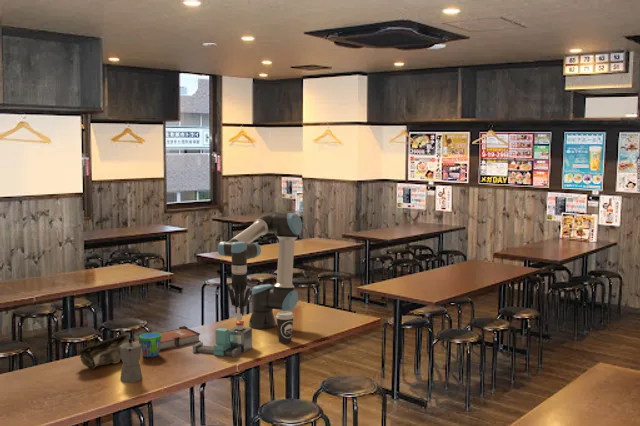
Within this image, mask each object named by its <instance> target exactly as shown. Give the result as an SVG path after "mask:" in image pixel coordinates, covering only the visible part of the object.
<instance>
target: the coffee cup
mask: <svg viewBox="0 0 640 426" xmlns="http://www.w3.org/2000/svg"><path fill="white" fill-rule="evenodd" d="M275 319H276V325H277V336H278V343H281V344H289V343H291V342H292V338H293V335H292V334H293V325H294V324H293V323H294V319H295V316H294V313H293V312H292V311H283V310H282V311H279V312H277V313H276V316H275Z"/></svg>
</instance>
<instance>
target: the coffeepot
mask: <svg viewBox="0 0 640 426" xmlns="http://www.w3.org/2000/svg"><path fill="white" fill-rule="evenodd" d="M127 339H128V338H127ZM128 341H129V343H124V344H122V345H120V346H119V348H120V353H121V359H120V360H121V361H122V365H121V371H120V381H121V382H122V383H128V384H129V383H135V382H139V381H141V380H142V379H143V373H142V368H141V364H140V359H141V353H142V348H141V347H142V345H141V344H140V343H139V342H134V339H133V338H129V339H128Z"/></svg>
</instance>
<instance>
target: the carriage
mask: <svg viewBox="0 0 640 426" xmlns="http://www.w3.org/2000/svg"><path fill="white" fill-rule="evenodd" d="M229 330H230V329H229V328H225V327H224V328H222V327H219V328H217V329H215V344H214V345H213V347H214V354H213V356H219V357H220V356H223V357H224V356H225V355H224V351H225V350H227V349H231V342H229Z"/></svg>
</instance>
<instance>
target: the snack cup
mask: <svg viewBox="0 0 640 426" xmlns="http://www.w3.org/2000/svg"><path fill="white" fill-rule="evenodd" d="M160 333H161V332H145V333H142V334H139V335H140V336H139V335H138V341H139V340H140V343H141V345H142V347H141V353H142V356H143V357H144V358H156V357H158V356H159V354H160V350H159V349H160V340H161V338H162V335H161V334H160Z"/></svg>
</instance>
